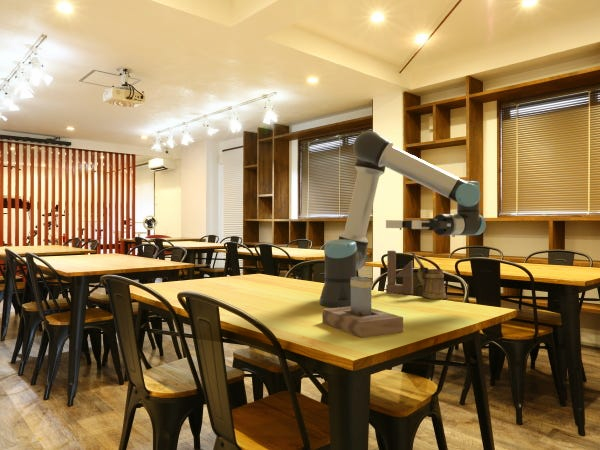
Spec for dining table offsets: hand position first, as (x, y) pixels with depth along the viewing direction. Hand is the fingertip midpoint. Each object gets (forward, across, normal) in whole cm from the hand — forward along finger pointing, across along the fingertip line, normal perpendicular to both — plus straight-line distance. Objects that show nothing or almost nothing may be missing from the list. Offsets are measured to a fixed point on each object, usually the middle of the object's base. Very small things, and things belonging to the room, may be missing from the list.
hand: (398, 224), depth 151 cm
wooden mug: (-32, +20, -30) cm, 48 cm away
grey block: (+22, -12, -30) cm, 39 cm away
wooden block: (-28, +34, -30) cm, 53 cm away
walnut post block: (+22, -12, -29) cm, 39 cm away
